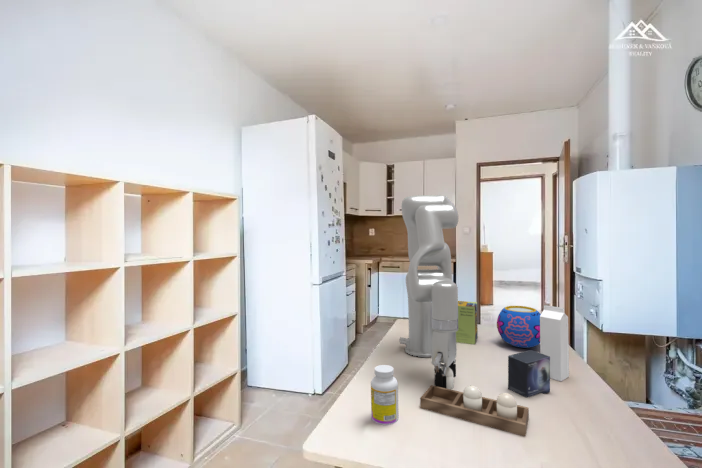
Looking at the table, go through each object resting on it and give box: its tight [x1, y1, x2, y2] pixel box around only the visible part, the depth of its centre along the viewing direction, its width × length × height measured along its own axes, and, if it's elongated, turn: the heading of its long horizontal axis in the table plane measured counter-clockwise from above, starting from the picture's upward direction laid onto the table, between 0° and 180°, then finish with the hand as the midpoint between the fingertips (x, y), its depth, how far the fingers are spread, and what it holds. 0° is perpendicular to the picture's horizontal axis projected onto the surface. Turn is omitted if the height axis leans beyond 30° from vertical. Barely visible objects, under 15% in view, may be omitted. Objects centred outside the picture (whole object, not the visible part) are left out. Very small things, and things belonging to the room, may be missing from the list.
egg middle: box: [462, 384, 483, 412], centre depth 84 cm, size 4×4×7 cm
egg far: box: [496, 392, 518, 421], centre depth 80 cm, size 4×4×7 cm
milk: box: [539, 304, 570, 382], centre depth 107 cm, size 6×6×22 cm
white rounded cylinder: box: [440, 367, 455, 390], centre depth 99 cm, size 4×4×7 cm
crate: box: [419, 384, 530, 438], centre depth 84 cm, size 24×9×3 cm, turn 58°
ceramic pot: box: [496, 305, 542, 349], centre depth 135 cm, size 18×18×15 cm
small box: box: [507, 349, 551, 399], centre depth 96 cm, size 11×6×10 cm, turn 117°
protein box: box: [456, 300, 479, 345], centre depth 145 cm, size 10×15×16 cm
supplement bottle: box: [370, 364, 399, 426], centre depth 83 cm, size 7×7×13 cm
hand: (445, 382), depth 99 cm, fingers open, 9 cm apart
